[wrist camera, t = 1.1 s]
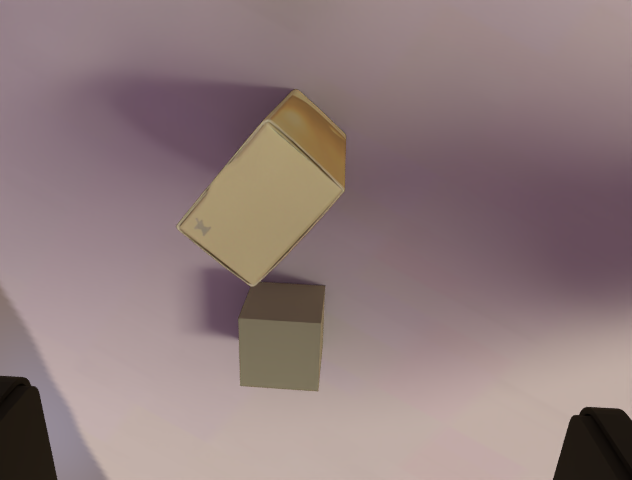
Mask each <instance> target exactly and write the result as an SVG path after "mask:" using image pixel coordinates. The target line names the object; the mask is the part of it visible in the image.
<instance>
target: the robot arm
mask: <svg viewBox="0 0 632 480" xmlns="http://www.w3.org/2000/svg"><path fill="white" fill-rule="evenodd" d="M0 480H57V476H56V471H55V466H54V461H53V456H52V451H51V447H50V442H49V437H48V432H47V428H46V423H45V419H44V414H43V409H42V404H41V399H40V394H39V391H38V389H37V388H36V387H34V386H31V384H30V382H29V380H28V379H27V378H24V377H11V376H0ZM553 480H632V420H631V419H630V418H629V416H628V415H627V414H626V413H625V412H624V411H623V410H621V409H616V408H597V407H585V408H583V409H582V410H581V412H580V414H579V415H573V416H572V417H571V419H570V422H569V425H568V429H567V432H566V436H565V439H564V443H563V446H562V450H561V453H560V457H559V460H558V464H557V467H556V471H555V474H554V478H553Z"/></svg>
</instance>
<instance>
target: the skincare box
mask: <svg viewBox="0 0 632 480" xmlns="http://www.w3.org/2000/svg"><path fill="white" fill-rule="evenodd" d="M345 155H346V135H345V133H344V132H343V131H342V130H341V129H340V128H339V127H338V126H337V125H336V124H334V123H333V122H332V121H331V120H330V119H329V118H328V117H327V116H326V115H325V114H324V113H323V112H322V111H321V110H320V109H319V108H318V107H317V106H316V105H314V104H313V103H312V102H311V101H310V100H309V99H308V98H307V97H306V96H305V95H303V94H302V93H301V92H300V91H299V90H296V89H295V90H293V91H291V92H290V93H289V95H288V96H287V97H286V98H285V99H284V100H283V101H282V102H281V103H280V104H279V105H278V106H277V107H276V108H275V109H274V110H273V111H272V112H271V113H270V114H269V115H268V116H267V117H266V118H265V119H264V120H263V121H262V122H261V123H260V125H259V126H258V127H257V128H256V129H255V130H254V132H253V133H252V134H251V135H250V136H249V138H248V139H247V140H246V141H245V142H244V144H243V145H242V146H241V147H240V148H239V150H238V151H237V152H236V153H235V154H234V156H233V157H232V158H231V159H230V160H229V162H228V163H227V164H226V165H225V166H224V168H223V169H222V170H221V171H220V172H219V174H218V175H217V176H216V177H215V179H214V180H213V181H212V182H211V184H210V185H209V186H208V187H207V188H206V190H205V191H204V192H203V193H202V194H201V196H200V197H199V198H198V199H197V201H196V202H195V203H194V204H193V206H192V207H191V208H190V209H189V210H188V212H187V213H186V214H185V215H184V217H183V218H182V219H181V220H180V222H179V223H178V224H177V226H176V227H177V229H178V230H179V231H180V232H181V233H182V234H184V235H185V236H186V237H188V238H189V239H190V240H191V241H192V242H193V243H195V244H196V245H197V246H199V247H200V248H201V249H202V250H203V251H205V252H206V253H207V254H208V255H210V256H211V257H212V258H213V259H215V260H216V261H217V262H218V263H220V264H221V265H222V266H223V267H225V268H226V269H227V270H229V271H230V272H231V273H233V274H234V275H235V276H237V277H238V278H240V279H241V280H243V281H244V282H245V283H246V284H248V285H249V286H251V287H253V286H255V285H257V284H258V283H259V282H260V281H261V280H262V279H263V278H264V277H265V276H266V275H267V274H268V273H269V272H271V271H272V270H273V269H274V268H275V267H276V266H277V265H278V264H279V263H280V262H281V261H282V260H283V259H284V258H285V257H286V255H287V254H288V253H289V252H290V251H291V250H292V249H293V248H294V247H295V246H296V245H297V244H298V243H299V242H300V241H301V240H302V238H303V237H304V236H305V235H306V234H307V233H308V232H309V231H310V230H311V229H312V228H313V226H314V225H315V224H316V223H317V222H318V221H319V220H320V219H321V218H322V216H323V215H324V214H325V213H326V212H327V211H328V210H329V209H330V207H331V206H332V205H333V204H334V203H335V201H336V200H337V199H338V198H339V197H340V196H341V195H342V193H343V192H344V191H345Z"/></svg>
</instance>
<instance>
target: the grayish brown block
mask: <svg viewBox="0 0 632 480" xmlns="http://www.w3.org/2000/svg"><path fill="white" fill-rule="evenodd" d="M324 302H325V286H323V285H306V284H289V283H273V282H259V283H258V284H257V285H255V286H253V287H250V290H249V292H248V295H247V297H246V300H245V303H244V305H243V308H242V310H241V313H240V315H239V318H238V324H239V359H240V386H249V387H263V388H277V389H292V390H306V391H318V388H319V378H320V368H321V358H322V348H323V325H324Z"/></svg>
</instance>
